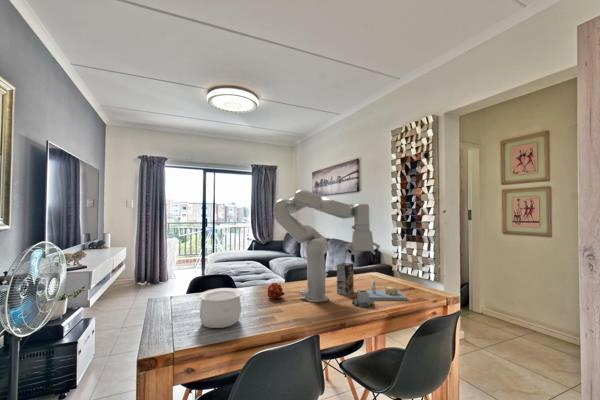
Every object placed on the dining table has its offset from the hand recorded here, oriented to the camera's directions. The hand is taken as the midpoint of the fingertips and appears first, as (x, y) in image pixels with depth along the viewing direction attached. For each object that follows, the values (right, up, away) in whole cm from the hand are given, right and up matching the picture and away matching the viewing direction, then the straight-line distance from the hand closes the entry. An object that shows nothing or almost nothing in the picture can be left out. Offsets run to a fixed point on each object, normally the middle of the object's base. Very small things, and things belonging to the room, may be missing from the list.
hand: (362, 262), depth 142 cm
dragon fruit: (-45, -22, +9) cm, 51 cm away
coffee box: (-6, -22, +19) cm, 30 cm away
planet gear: (0, -21, -1) cm, 21 cm away
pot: (-65, -20, -24) cm, 72 cm away
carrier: (+14, -21, +12) cm, 28 cm away
